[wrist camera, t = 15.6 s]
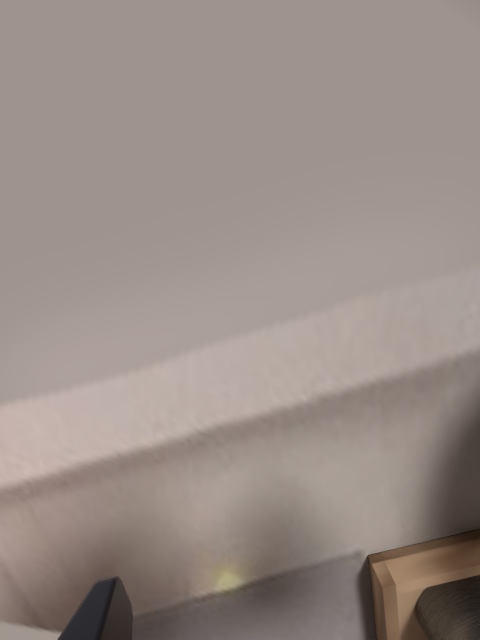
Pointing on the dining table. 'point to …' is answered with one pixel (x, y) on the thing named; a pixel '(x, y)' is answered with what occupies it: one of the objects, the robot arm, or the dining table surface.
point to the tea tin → (450, 610)
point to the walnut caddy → (417, 580)
